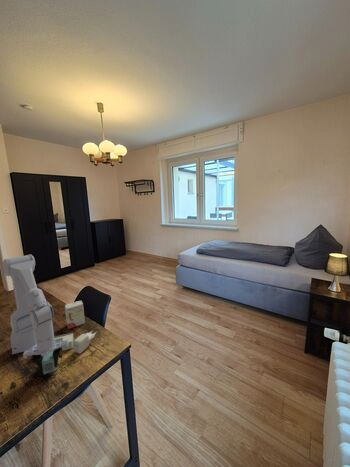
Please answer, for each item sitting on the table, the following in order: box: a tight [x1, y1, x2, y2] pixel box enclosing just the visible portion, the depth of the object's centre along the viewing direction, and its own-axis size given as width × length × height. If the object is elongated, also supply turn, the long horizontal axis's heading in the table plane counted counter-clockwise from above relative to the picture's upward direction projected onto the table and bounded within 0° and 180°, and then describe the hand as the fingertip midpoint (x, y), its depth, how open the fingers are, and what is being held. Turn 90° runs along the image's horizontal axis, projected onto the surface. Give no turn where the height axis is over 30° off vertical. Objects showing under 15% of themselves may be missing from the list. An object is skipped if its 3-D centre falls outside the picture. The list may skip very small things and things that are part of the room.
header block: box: [54, 332, 75, 352], centre depth 89 cm, size 14×6×4 cm, turn 112°
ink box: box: [64, 300, 86, 330], centre depth 106 cm, size 9×5×12 cm, turn 125°
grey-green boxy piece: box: [42, 350, 60, 375], centre depth 80 cm, size 4×8×6 cm, turn 22°
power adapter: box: [73, 330, 98, 355], centre depth 91 cm, size 11×5×6 cm, turn 159°
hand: (49, 367), depth 77 cm, fingers closed on grey-green boxy piece, 4 cm apart
